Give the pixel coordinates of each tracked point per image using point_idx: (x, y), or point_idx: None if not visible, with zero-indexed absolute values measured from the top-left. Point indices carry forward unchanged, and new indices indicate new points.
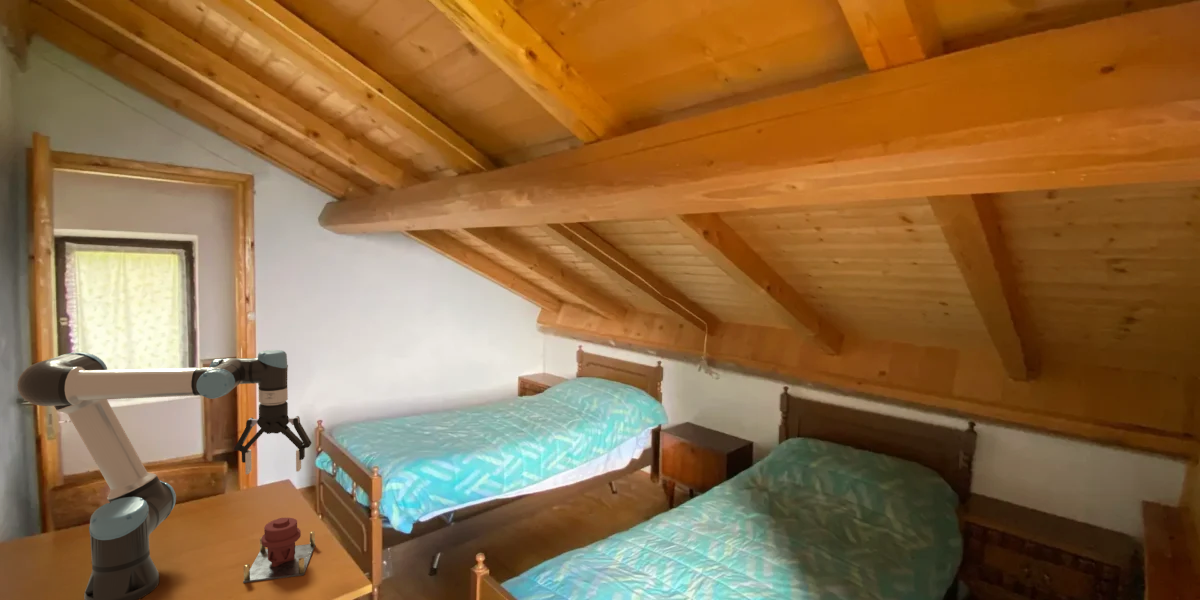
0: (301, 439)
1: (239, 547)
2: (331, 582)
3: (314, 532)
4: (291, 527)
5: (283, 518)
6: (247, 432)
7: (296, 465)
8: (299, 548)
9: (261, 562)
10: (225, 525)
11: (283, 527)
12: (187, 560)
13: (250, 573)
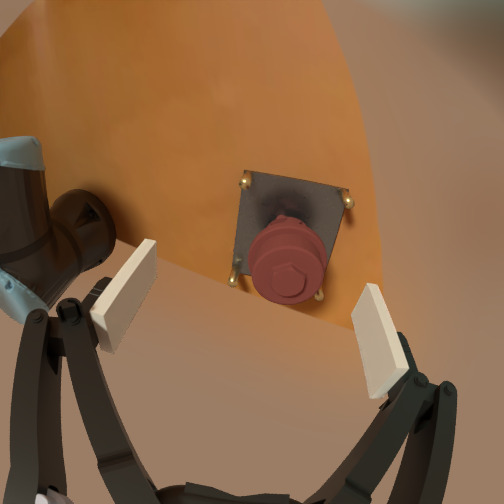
0: (404, 451)
1: (199, 137)
2: (351, 313)
3: (353, 206)
4: (309, 298)
5: (293, 275)
6: (61, 459)
7: (357, 335)
8: (318, 198)
9: (251, 224)
10: (155, 29)
11: (293, 296)
12: (124, 161)
13: (238, 254)
